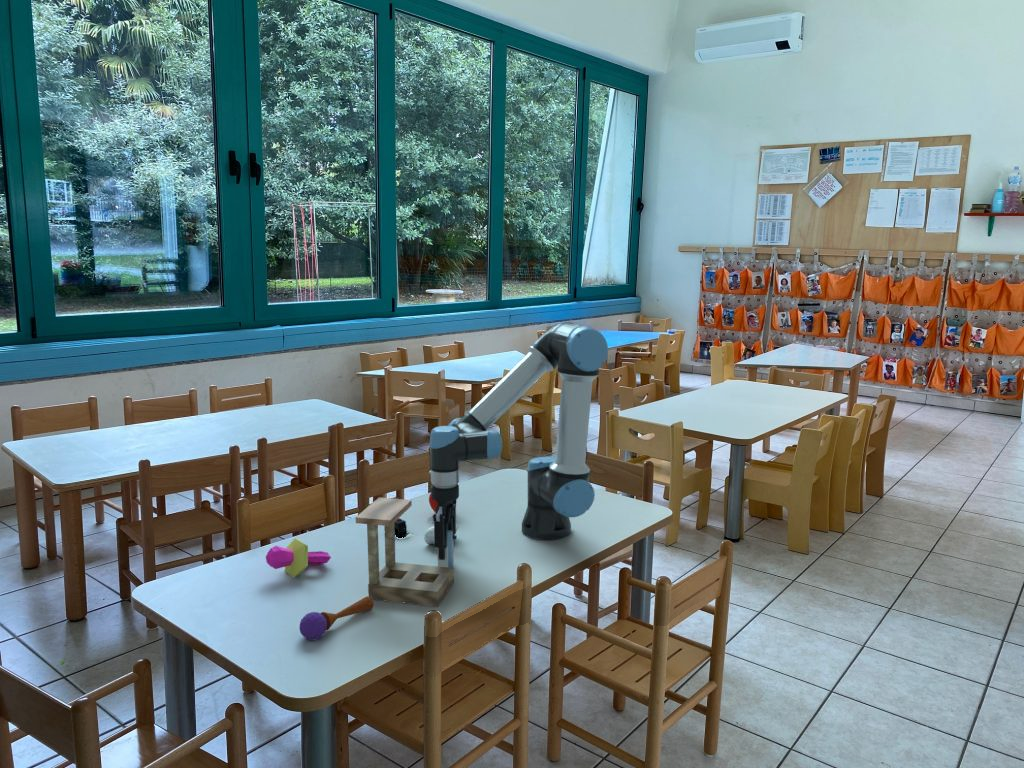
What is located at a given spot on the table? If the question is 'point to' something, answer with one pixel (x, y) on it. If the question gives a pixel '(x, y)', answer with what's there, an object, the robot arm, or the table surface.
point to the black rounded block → (400, 528)
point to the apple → (433, 503)
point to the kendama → (329, 618)
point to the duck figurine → (432, 535)
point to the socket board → (413, 584)
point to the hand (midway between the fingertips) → (445, 565)
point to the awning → (385, 515)
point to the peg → (450, 548)
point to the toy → (295, 557)
